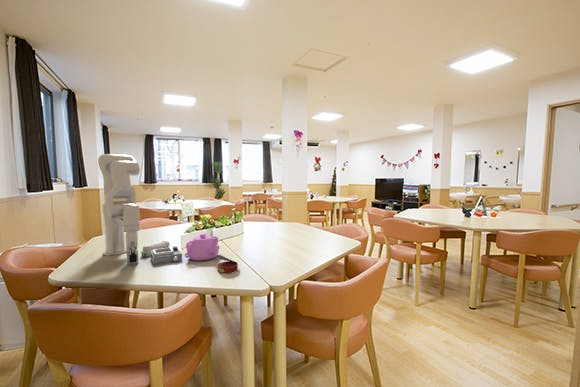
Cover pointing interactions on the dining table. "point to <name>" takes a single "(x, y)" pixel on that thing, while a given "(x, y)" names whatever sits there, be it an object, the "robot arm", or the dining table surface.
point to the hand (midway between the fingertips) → (132, 259)
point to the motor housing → (166, 255)
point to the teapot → (202, 248)
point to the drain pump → (129, 260)
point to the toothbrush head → (148, 249)
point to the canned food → (226, 265)
